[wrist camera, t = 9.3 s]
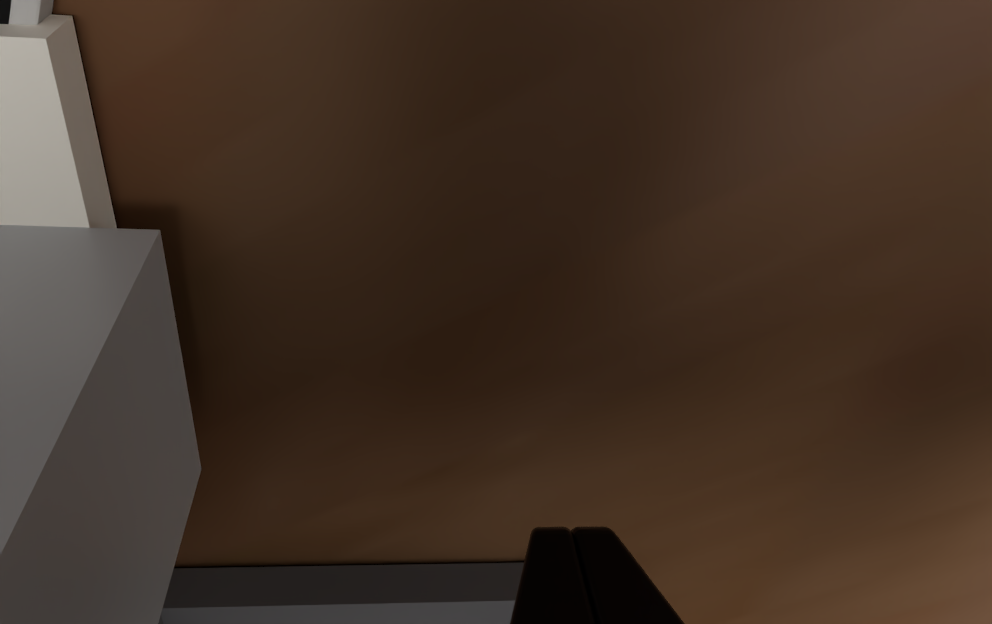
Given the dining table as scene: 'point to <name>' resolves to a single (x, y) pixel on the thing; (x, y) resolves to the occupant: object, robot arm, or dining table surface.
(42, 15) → the smartphone
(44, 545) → the plug
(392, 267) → the dining table surface
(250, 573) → the holster
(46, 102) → the port
